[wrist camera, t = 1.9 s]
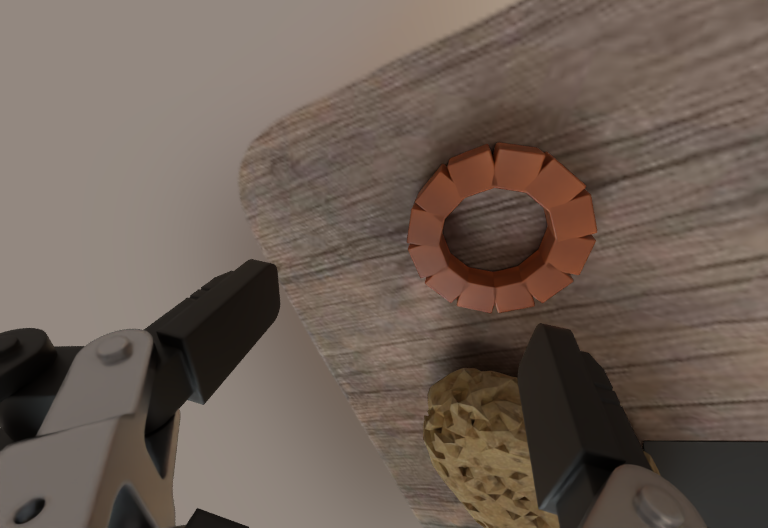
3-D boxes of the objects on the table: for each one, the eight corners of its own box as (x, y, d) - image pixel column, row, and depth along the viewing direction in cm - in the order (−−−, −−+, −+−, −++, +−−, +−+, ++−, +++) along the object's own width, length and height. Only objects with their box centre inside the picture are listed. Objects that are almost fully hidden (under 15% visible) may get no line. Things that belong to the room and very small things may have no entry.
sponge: (655, 503, 24) (702, 357, 13) (686, 654, 19) (809, 623, 8) (482, 462, 31) (417, 341, 20) (471, 567, 26) (374, 482, 15)
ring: (426, 132, 14) (421, 137, 13) (616, 158, 13) (633, 166, 12) (404, 278, 18) (399, 293, 17) (547, 308, 17) (554, 327, 16)
